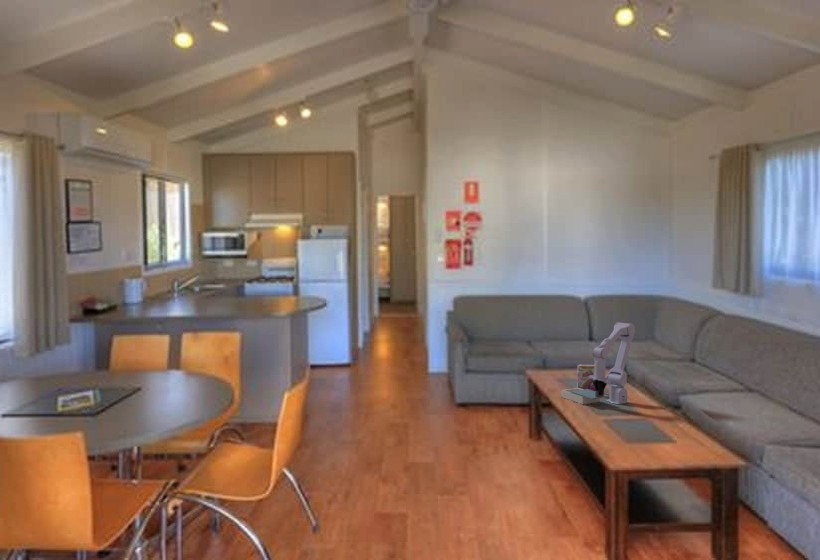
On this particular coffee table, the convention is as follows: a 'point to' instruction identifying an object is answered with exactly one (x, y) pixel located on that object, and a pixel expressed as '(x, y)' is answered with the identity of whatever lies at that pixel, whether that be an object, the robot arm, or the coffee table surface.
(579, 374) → the candy bar box
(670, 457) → the coffee table surface
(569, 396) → the carton
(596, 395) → the carton lid
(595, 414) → the coffee table surface
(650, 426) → the coffee table surface
